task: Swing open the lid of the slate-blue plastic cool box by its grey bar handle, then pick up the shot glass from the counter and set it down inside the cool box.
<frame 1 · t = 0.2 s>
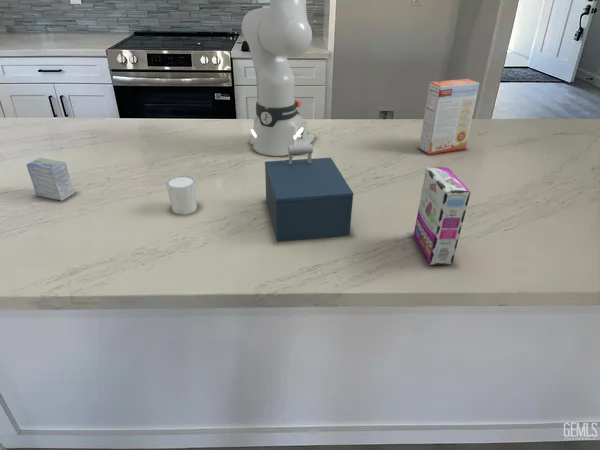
medicine box: (56, 195, 109), on the countertop
shot glass: (184, 209, 105), on the countertop
cool box: (305, 217, 102), on the countertop
cracker box: (441, 149, 140), on the countertop
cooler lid: (306, 168, 96), point 12 cm above the countertop, hinge at 0.0°
candy bar box: (431, 250, 92), on the countertop
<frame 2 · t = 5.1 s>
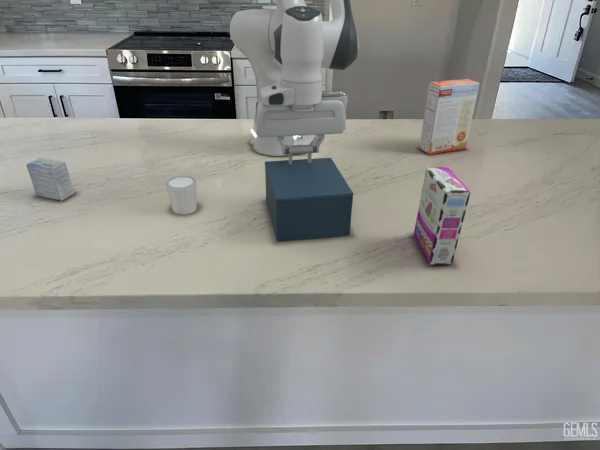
hand: (300, 152, 101), 13 cm above the countertop, tool pointing down, fingers closed on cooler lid, 5 cm apart
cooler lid: (306, 168, 96), point 12 cm above the countertop, hinge at 0.0°, touching gripper
everything else where it was.
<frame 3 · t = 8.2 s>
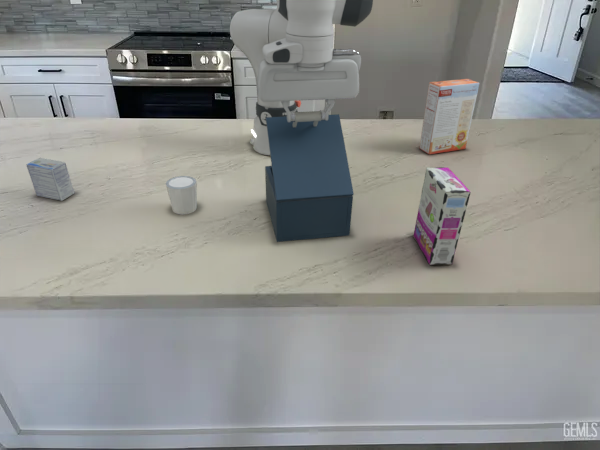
hand: (307, 120, 91), 23 cm above the countertop, tool pointing down, fingers closed on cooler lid, 5 cm apart
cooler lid: (310, 150, 90), point 18 cm above the countertop, hinge at 40.4°, touching gripper
everything else where it was.
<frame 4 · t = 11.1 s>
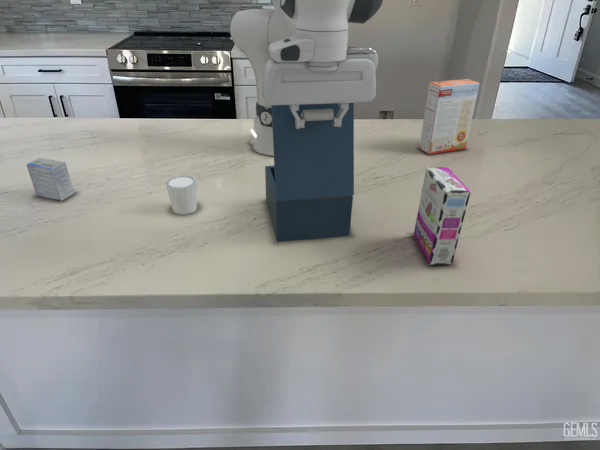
hand: (318, 127, 82), 25 cm above the countertop, tool pointing down, fingers closed on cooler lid, 5 cm apart
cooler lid: (316, 152, 85), point 20 cm above the countertop, hinge at 74.0°, touching gripper
everything else where it was.
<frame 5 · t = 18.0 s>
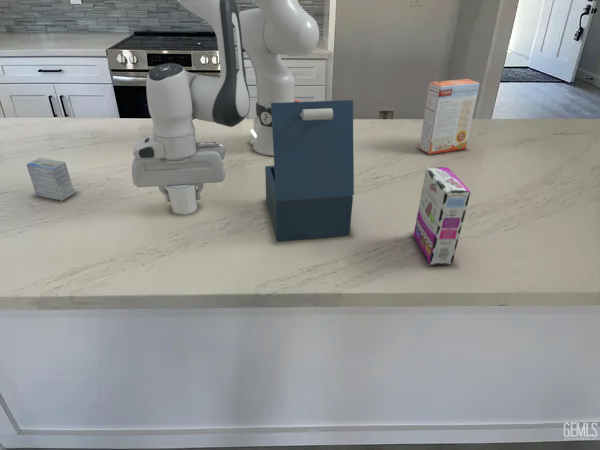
hand: (183, 199, 103), 2 cm above the countertop, tool pointing down, fingers closed on shot glass, 5 cm apart
shot glass: (184, 209, 105), on the countertop, touching gripper
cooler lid: (316, 151, 85), point 20 cm above the countertop, hinge at 72.6°
everything else where it was.
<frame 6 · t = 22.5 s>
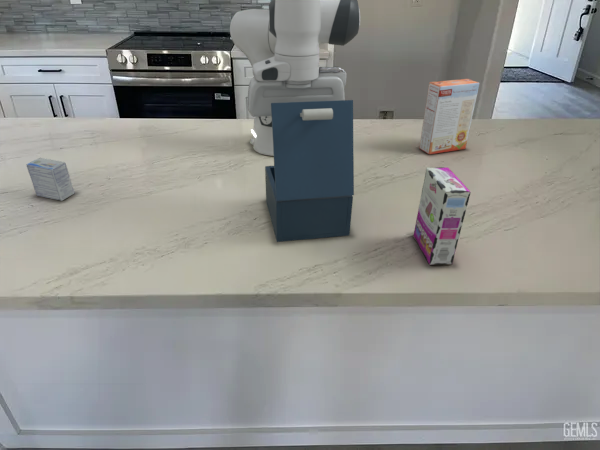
hand: (295, 134, 95), 19 cm above the countertop, tool pointing down, fingers closed on shot glass, 5 cm apart
shot glass: (296, 145, 96), point 16 cm above the countertop, touching gripper
everything else where it was.
when the fingers open (3 cm above the countertop, at t = 27.5 s): shot glass stays where it is, resting on cool box.
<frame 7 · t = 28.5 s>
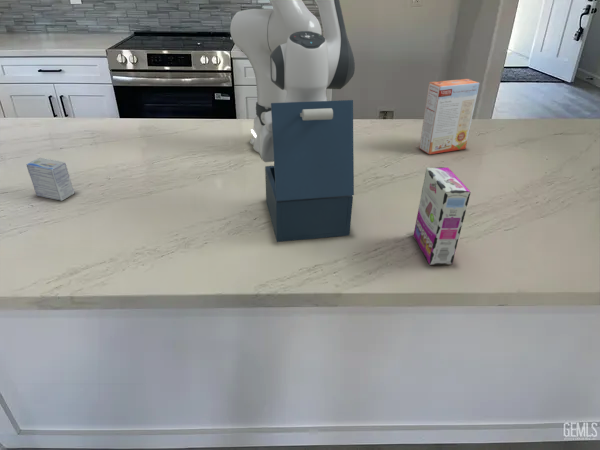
hand: (304, 174, 101), 9 cm above the countertop, tool pointing down, fingers open, 8 cm apart
shot glass: (301, 207, 104), point 1 cm above the countertop, touching cool box
everything else where it was.
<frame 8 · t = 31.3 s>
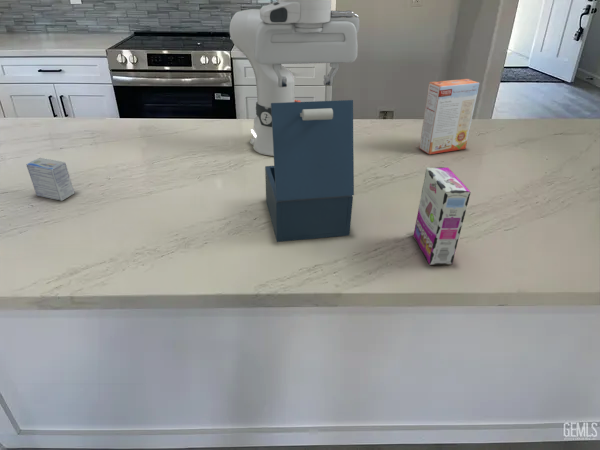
hand: (305, 85, 90), 29 cm above the countertop, tool pointing down, fingers open, 8 cm apart
nothing on the countertop moved.
at the end: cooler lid at +73° (first picture: +0°); shot glass inside the target area in the cool box (3.4 cm from its centre), point 0.8 cm above the cool box's base; shot glass tilted 0° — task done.
